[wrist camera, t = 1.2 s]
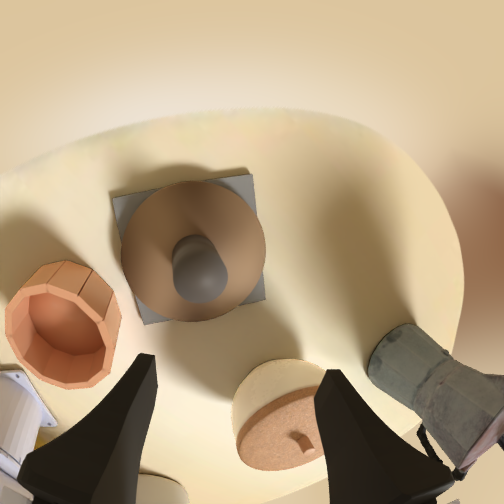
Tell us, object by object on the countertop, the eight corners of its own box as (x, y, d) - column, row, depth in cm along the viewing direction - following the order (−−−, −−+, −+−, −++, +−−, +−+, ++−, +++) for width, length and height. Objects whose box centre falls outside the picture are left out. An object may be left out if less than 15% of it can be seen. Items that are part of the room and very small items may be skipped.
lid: (142, 327, 22) (139, 364, 18) (109, 196, 19) (92, 207, 14) (268, 301, 24) (290, 331, 20) (254, 171, 21) (278, 174, 17)
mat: (144, 321, 23) (144, 325, 22) (113, 197, 19) (112, 198, 19) (263, 297, 25) (265, 299, 24) (250, 173, 21) (252, 174, 21)
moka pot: (436, 295, 32) (559, 375, 13) (402, 389, 36) (487, 475, 18) (380, 306, 29) (525, 421, 11) (350, 409, 34) (435, 518, 15)
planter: (49, 359, 21) (36, 391, 17) (13, 272, 18) (-12, 295, 14) (133, 348, 23) (129, 382, 19) (102, 252, 20) (88, 274, 16)
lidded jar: (196, 383, 26) (215, 464, 17) (291, 318, 26) (344, 384, 18) (257, 429, 30) (284, 493, 21) (334, 376, 31) (379, 433, 22)
